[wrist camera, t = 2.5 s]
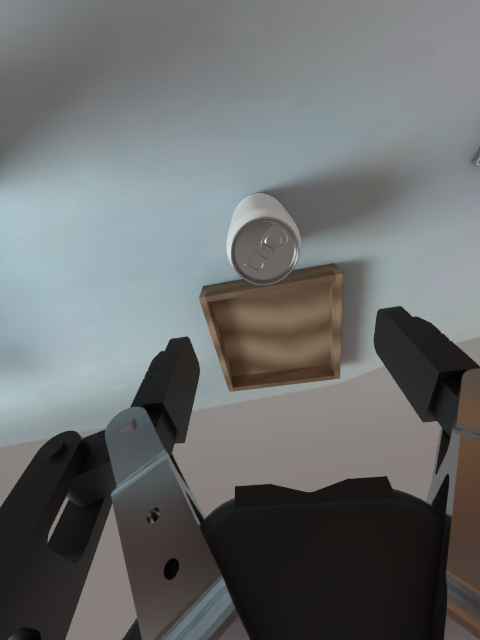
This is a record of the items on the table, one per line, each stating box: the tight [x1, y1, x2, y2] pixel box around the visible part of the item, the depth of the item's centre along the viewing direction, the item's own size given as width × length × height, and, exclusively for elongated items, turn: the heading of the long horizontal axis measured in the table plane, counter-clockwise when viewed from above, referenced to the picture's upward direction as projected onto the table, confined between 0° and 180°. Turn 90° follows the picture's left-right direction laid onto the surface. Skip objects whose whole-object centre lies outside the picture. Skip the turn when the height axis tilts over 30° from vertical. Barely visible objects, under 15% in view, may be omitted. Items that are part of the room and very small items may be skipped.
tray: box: [199, 263, 343, 392], centre depth 37 cm, size 18×18×4 cm
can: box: [227, 193, 301, 285], centre depth 25 cm, size 6×6×12 cm
